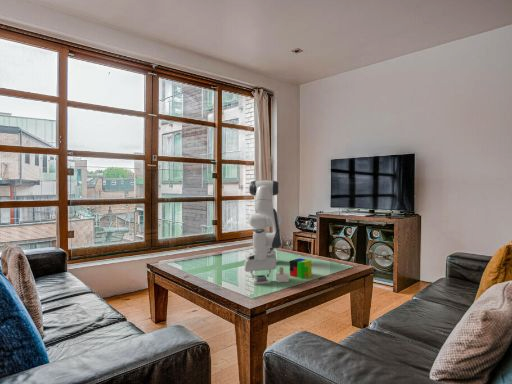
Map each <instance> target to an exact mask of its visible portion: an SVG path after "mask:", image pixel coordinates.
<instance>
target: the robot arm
mask: <svg viewBox="0 0 512 384" xmlns="http://www.w3.org/2000/svg"><path fill="white" fill-rule="evenodd" d="M280 187H281V186H280V184H279V182H278V181H277V180H268V179H265V180H264V179H263V180H253V181H252V180H251V181H250V183H249V185H248V192H249V194H250V195H251V196H255V197H254V207H255V210H256V213H251V214H250V215H249V216H248V224H249V225H250V227H252V228H253V229H254V230H253V232H252V240H251V241H252V246H253V248H252V252H250V253H247V254H246V255H245V258H246V259H245V260H244V264H243V265H244V266H243V267H244V271H245V272H246V273H247V272H248V273H250V274H251V279H255V276H256V275H255V274H253V273H254V272H260V271H268V272H267V273H266V277H267V278H268V277H269V278H270V274H271V272H272V271H273V270H276V269H277V268H278V267H277V263H279V260H278V259H277V253H276V251H275V250H274V249H279V248H280V247H281V246H282V245H283V244H282V243H283V238H282V235H281V229H280V225H281V224H282V221H283V218H282V215H281V214H280V213H279V212H277V210H276V209H275V208H274V206H273V196H277V195H278V194H279V192H280V190H281V188H280ZM267 227H268V228H271V227H272V230H273V232H270V231H268V230H267V229H265V228H267Z"/></svg>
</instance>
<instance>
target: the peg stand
mask: <svg viewBox="0 0 512 384" xmlns="http://www.w3.org/2000/svg"><path fill="white" fill-rule="evenodd" d="M278 271H279V272H274V280H275V281H276V282H277V283H285V282H286V283H287V282H289V281H290V278H289V277H290V274H288V273H287V272H285V271H284V267H283V266H282V267H281V266H280V267H279V270H278Z"/></svg>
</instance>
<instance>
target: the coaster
mask: <svg viewBox="0 0 512 384" xmlns="http://www.w3.org/2000/svg"><path fill="white" fill-rule="evenodd" d="M251 281H252V283H253V284H254V285H261V284H262V285H263V284H271V280H270V279H269V278H268V277H267V281H264V282H257V281H256V280H255V278H251Z"/></svg>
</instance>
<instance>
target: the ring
mask: <svg viewBox="0 0 512 384" xmlns="http://www.w3.org/2000/svg"><path fill="white" fill-rule="evenodd" d="M267 278H268V277H267V275H265V274H259V275H255V278H254V279H255V280H256V281H257V282H264V281H267Z"/></svg>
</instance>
